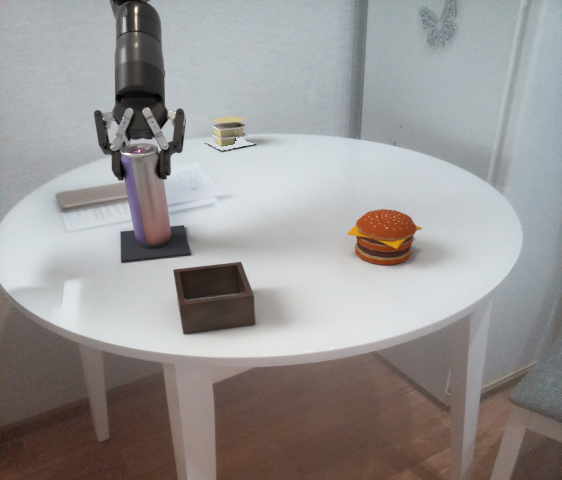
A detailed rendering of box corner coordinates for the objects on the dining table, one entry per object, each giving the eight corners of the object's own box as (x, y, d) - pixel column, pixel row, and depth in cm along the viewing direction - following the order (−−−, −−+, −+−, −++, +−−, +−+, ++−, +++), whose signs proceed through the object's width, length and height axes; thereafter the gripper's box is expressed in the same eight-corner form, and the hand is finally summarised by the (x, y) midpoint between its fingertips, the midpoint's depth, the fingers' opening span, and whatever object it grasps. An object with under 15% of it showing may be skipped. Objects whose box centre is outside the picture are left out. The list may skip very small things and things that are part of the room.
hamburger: (343, 256, 90) (346, 217, 86) (371, 235, 96) (374, 197, 92) (397, 272, 86) (402, 231, 81) (422, 249, 92) (428, 210, 88)
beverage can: (130, 247, 92) (112, 153, 82) (145, 231, 96) (129, 141, 87) (163, 250, 91) (149, 156, 81) (177, 235, 95) (165, 144, 86)
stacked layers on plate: (221, 152, 131) (219, 127, 127) (203, 142, 137) (201, 118, 133) (257, 144, 135) (256, 120, 132) (238, 135, 141) (237, 112, 138)
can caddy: (183, 334, 73) (179, 305, 70) (177, 297, 80) (173, 269, 77) (255, 324, 75) (254, 295, 72) (242, 289, 82) (241, 261, 79)
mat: (121, 262, 89) (120, 260, 88) (120, 233, 97) (120, 231, 97) (190, 255, 90) (190, 252, 90) (184, 227, 99) (184, 225, 99)
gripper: (85, 59, 83) (86, 167, 81) (182, 57, 83) (185, 165, 82) (100, 90, 90) (101, 189, 89) (189, 88, 91) (192, 187, 89)
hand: (141, 177), depth 85 cm, fingers closed on beverage can, 6 cm apart
